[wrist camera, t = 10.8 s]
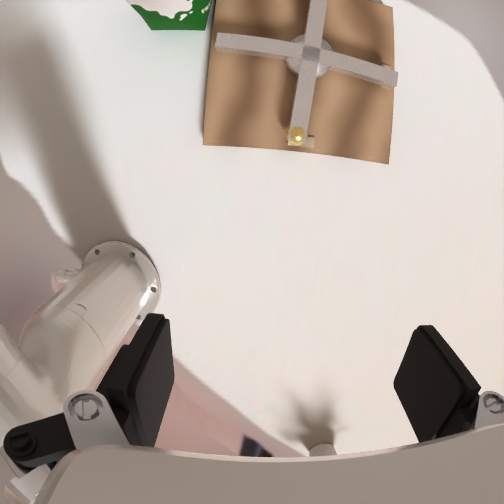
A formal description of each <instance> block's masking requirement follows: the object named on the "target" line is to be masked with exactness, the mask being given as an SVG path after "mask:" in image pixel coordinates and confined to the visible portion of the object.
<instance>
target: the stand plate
mask: <svg viewBox="0 0 504 504" xmlns="http://www.w3.org/2000/svg"><path fill="white" fill-rule="evenodd" d="M308 5H309V0H216V7H215V14H214V23H213V31H212V40H211V49H210V59H209V69H208V80H207V92H206V105H205V119H204V134H203V145H213V146H235V147H252V148H266V149H278V150H288V151H298V152H307V153H316V154H324V155H332V156H339V157H346V158H353V159H359V160H366V161H372V162H378V163H383V164H389V155H390V144H391V133H392V118H393V100H394V87H393V88H387V87H384V86H381V85H378V84H375V83H372V82H369V81H366V80H362V79H359V78H356V77H352V76H349V75H345V74H342V73H338V72H334V71H330V70H328V71H327V72H326V73H325V74H324V75H323V76H322V77H320V78H318V79H316V81H315V87H314V94H313V100H312V106H311V112H310V118H309V123H308V129H307V131H308V138H307V140H306V142H305V143H303V144H301V145H293V144H291V143H289V142H288V141H287V140H286V136H285V132H286V129H287V128H288V126H289V121H290V115H291V109H292V104H293V98H294V92H295V86H296V80H297V77H295V76H294V75H292V74H291V73H290V72H289V70H288V69H287V67H286V64H285V61H284V60H278V59H273V58H266V57H260V56H253V55H245V54H236V53H227V52H217V51H216V49H215V42H216V38H217V33H229V34H239V35H248V36H256V37H263V38H270V39H276V40H282V41H287V42H291V41H292V40H293V39H294V38H296V37H298V36H300V35H304V31H305V24H306V18H307V12H308ZM322 39H324V40H325V41H326V42H327V43H328V44H329V45H330V46H331V48H332V50H333V52H336V53H340V54H344V55H347V56H351V57H354V58H358V59H361V60H364V61H367V62H370V63H373V64H376V65H379V66H382V67H385V68H388V69H391V70H393V71H394V26H393V9H392V7H390V6H386V5H383V4H380V3H376V2H373V1H369V0H327V6H326V14H325V21H324V28H323V35H322Z"/></svg>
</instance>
